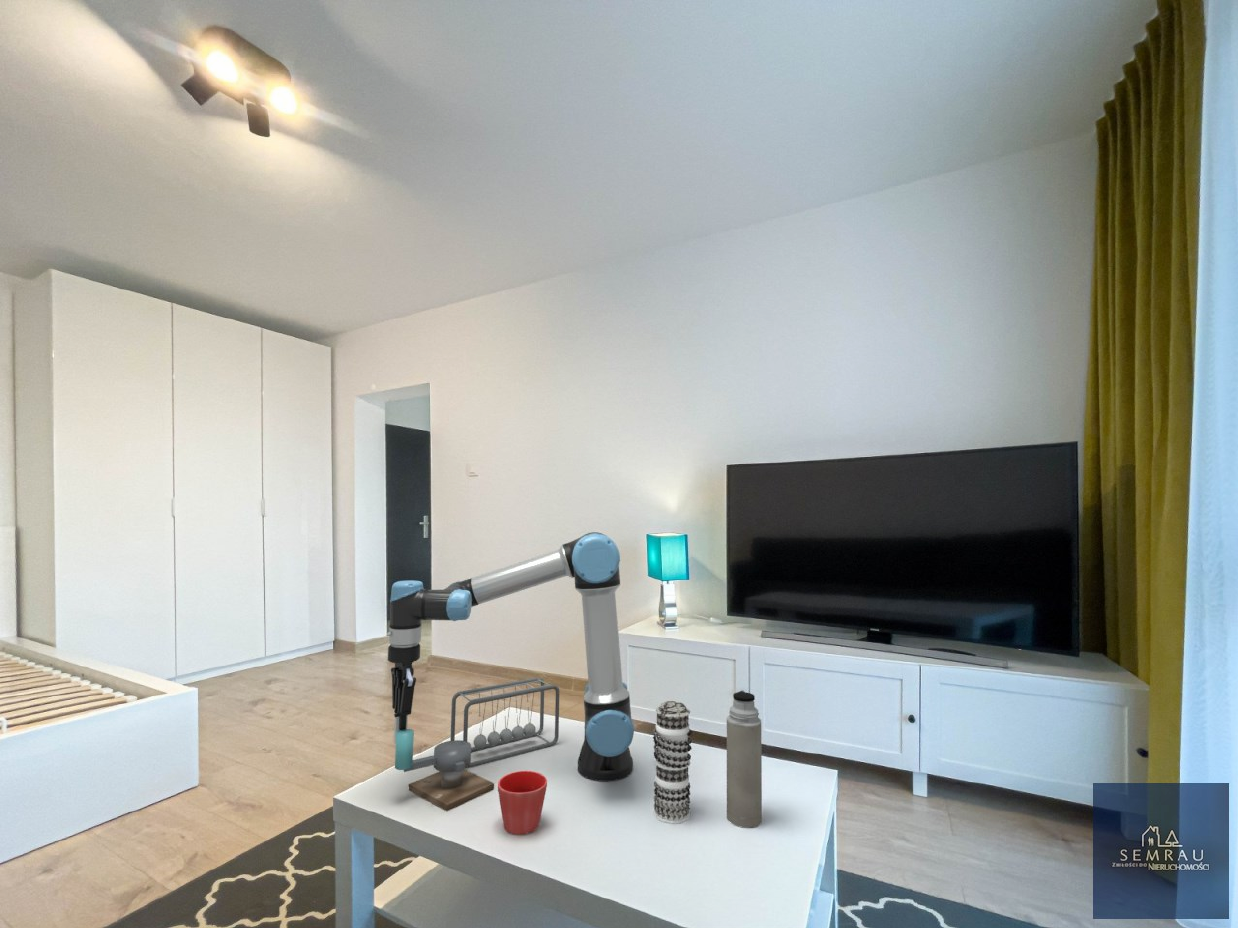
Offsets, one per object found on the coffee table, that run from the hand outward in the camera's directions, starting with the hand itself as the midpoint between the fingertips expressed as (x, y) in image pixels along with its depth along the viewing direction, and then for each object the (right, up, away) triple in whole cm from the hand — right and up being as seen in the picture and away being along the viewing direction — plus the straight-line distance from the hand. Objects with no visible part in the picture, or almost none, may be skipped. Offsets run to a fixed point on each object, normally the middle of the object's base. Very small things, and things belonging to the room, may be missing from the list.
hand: (400, 741), depth 143 cm
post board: (+12, -14, +3) cm, 18 cm away
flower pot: (+32, -13, -13) cm, 37 cm away
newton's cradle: (+21, -16, +27) cm, 38 cm away
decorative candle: (+66, -14, -7) cm, 68 cm away
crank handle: (+8, -7, +1) cm, 11 cm away
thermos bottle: (+83, -14, -9) cm, 84 cm away
